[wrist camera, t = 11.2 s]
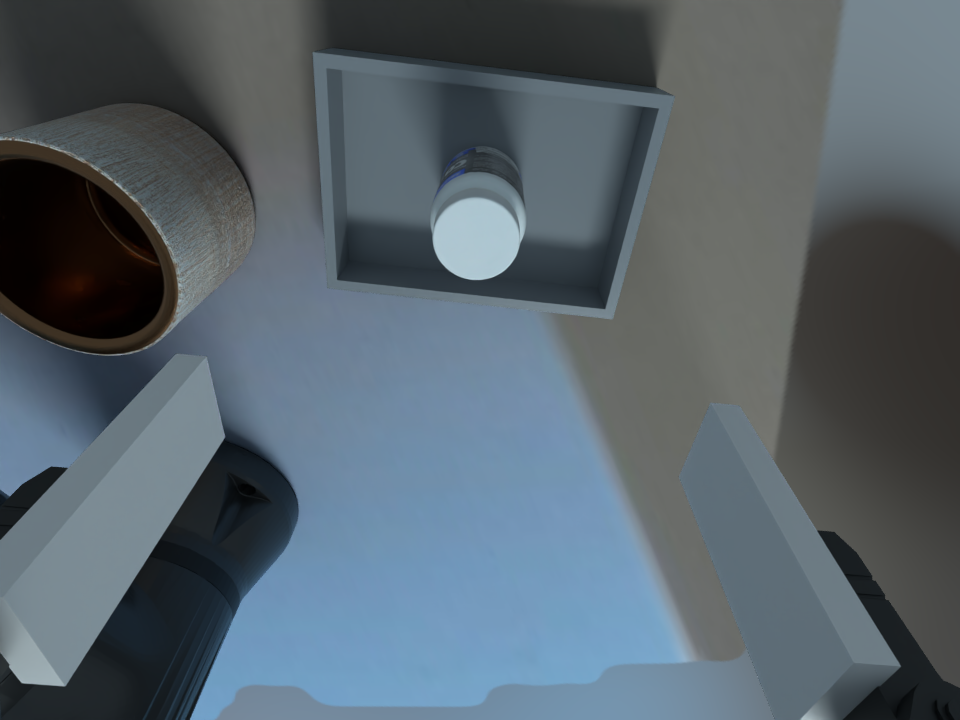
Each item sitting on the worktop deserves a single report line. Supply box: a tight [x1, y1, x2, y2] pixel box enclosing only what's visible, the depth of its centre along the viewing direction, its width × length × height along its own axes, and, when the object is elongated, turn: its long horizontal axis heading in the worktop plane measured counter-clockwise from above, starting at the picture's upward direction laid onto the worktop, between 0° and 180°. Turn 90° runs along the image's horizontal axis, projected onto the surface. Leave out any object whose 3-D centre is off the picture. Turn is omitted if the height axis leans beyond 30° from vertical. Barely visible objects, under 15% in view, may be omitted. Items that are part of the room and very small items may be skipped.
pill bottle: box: [430, 146, 526, 280], centre depth 27 cm, size 5×5×8 cm
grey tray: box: [313, 48, 675, 319], centre depth 30 cm, size 17×12×4 cm
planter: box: [0, 103, 255, 356], centre depth 28 cm, size 11×11×10 cm
